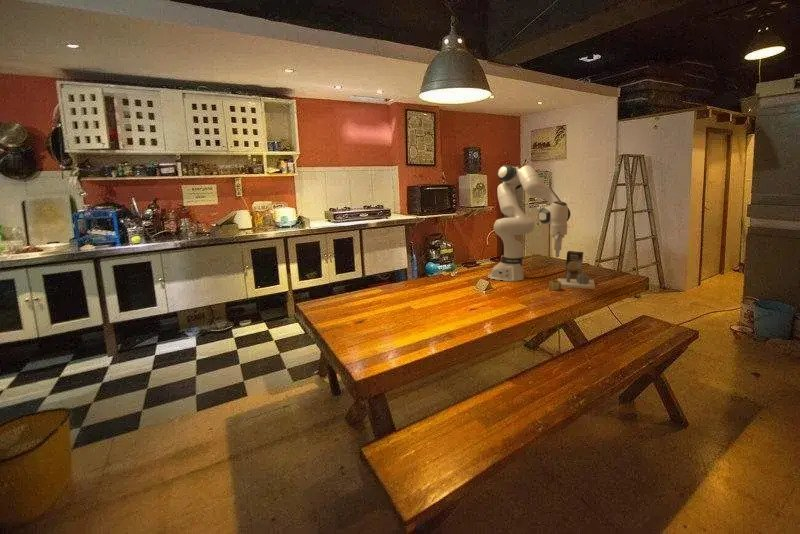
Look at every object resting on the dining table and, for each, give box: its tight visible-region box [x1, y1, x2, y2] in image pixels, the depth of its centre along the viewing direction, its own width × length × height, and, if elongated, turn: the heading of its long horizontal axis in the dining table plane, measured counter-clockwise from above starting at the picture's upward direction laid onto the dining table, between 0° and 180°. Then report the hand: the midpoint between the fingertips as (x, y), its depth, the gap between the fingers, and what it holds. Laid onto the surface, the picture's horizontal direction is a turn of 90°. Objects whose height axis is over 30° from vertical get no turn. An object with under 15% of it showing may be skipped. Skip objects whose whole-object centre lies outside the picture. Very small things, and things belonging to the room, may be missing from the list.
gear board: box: [557, 272, 596, 290], centre depth 234 cm, size 20×13×7 cm, turn 67°
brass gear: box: [548, 280, 562, 292], centre depth 227 cm, size 6×6×4 cm
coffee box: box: [564, 250, 584, 279], centre depth 249 cm, size 9×6×16 cm
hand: (557, 255), depth 222 cm, fingers open, 8 cm apart
